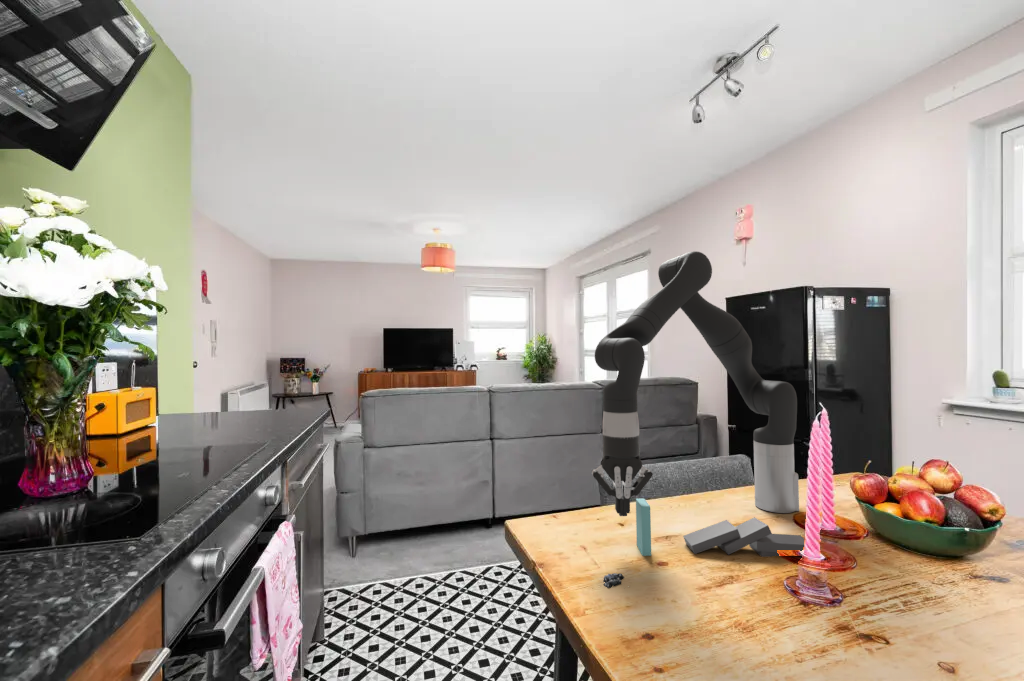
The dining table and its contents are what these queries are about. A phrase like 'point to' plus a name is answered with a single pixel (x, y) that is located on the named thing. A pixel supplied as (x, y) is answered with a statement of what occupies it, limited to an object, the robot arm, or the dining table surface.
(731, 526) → the domino
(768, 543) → the domino
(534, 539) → the dining table surface
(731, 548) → the domino
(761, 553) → the domino
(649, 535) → the end domino
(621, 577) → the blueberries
